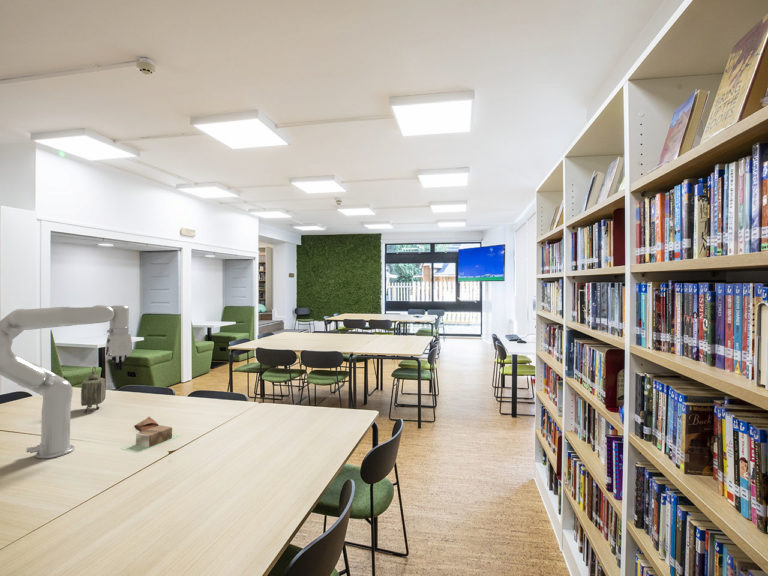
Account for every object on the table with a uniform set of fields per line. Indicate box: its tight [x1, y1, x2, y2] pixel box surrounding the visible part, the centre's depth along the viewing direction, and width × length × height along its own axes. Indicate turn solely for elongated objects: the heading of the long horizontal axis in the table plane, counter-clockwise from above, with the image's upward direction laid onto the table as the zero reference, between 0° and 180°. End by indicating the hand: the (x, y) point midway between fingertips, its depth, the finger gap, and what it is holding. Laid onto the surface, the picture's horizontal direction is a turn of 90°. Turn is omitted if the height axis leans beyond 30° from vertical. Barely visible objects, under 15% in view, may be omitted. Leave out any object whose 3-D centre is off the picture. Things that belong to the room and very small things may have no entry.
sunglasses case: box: [134, 416, 160, 432], centre depth 199 cm, size 18×7×7 cm
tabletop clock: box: [80, 366, 107, 413], centre depth 228 cm, size 14×9×25 cm, turn 25°
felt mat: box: [120, 433, 181, 454], centre depth 180 cm, size 22×11×1 cm, turn 158°
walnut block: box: [135, 424, 173, 447], centre depth 181 cm, size 5×8×12 cm
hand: (118, 370), depth 185 cm, fingers closed
